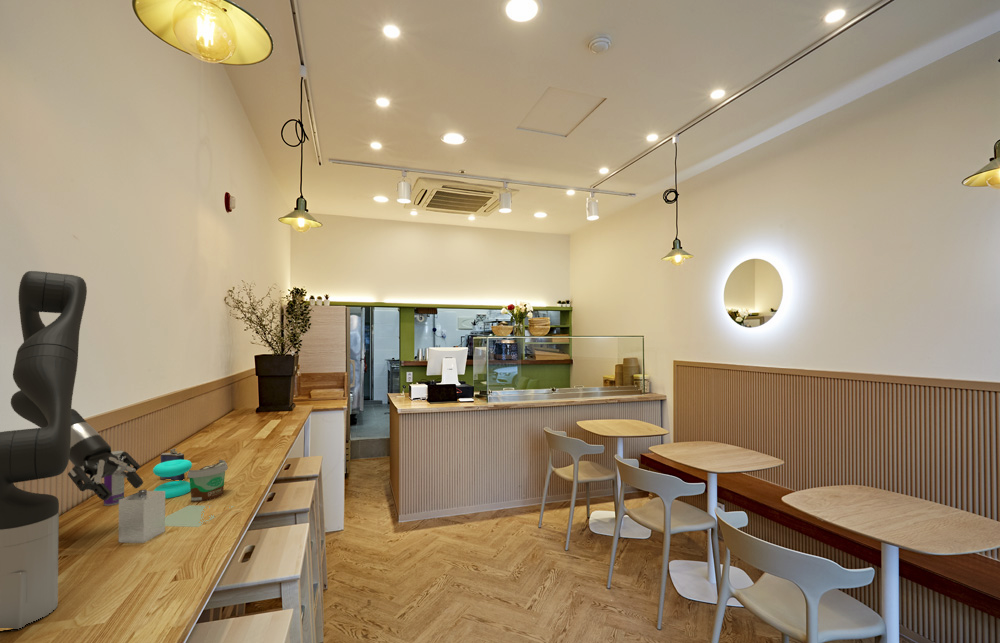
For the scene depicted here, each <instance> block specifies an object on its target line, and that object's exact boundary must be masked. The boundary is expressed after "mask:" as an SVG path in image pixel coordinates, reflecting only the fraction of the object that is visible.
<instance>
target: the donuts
mask: <svg viewBox="0 0 1000 643" xmlns="http://www.w3.org/2000/svg"><path fill="white" fill-rule="evenodd" d="M192 467H193V463H192V462H191V460H188V459H184V460H171V461H166V462H162V463H161V462H159V463H158V464H156V465H155V466H154V467H153V469H152V472H153V474H154V475H156V476H157V477H159V478H160V477H172V476H177V475H181V474H183V473H184V474H185V473H187V472H189V470H192V469H191V468H192ZM153 491H165V500H166V499H173V498H176V497H181V496H184V495H187V494H188V493H191V490H190V481H187V480H183V481H182V480H179V481H172V480H171V481H168V482H167V481H166V482H164V483H161V484H159V485H158V486H156V487H155V488H154V489H153Z"/></svg>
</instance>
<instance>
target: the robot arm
mask: <svg viewBox="0 0 1000 643" xmlns="http://www.w3.org/2000/svg"><path fill="white" fill-rule="evenodd" d="M87 290H88V289H87V283H86V281H85V279H84V278H83V277H81V276H78V275H74V274H68V273H56V272H47V271H38V270H29V271H26V272H25V273H24V274H23V275H22V276H21V280H20V282H19V286H18V308H19V310H18V311H19V317H20V319H19V320H20V325H21V326H20V327H21V332H22V338H23V342H22V343H21V344H20V346H19V348H18V349H17V352H16V356H15V360H14V366H13V370H12V371H13V372H12V379H13V381H14V383H15V385H16V387H18V389H19V390H18V391H16V392H15V393H14V394H12V396H11V398H10V406H11V408H12V410H13V412H15V413H16V414H17V415H18V416H20V417H21V418H23V419H24V420H26V421H28V422H30V423H32V424H34V425H36V426H37V427H34V428H26V429H25V428H24V429H16V430H14V429H13V430H5V431H0V628H13V629H18V630H20V629H19V628H21V629H23V628H24V627H25V625H26V624H28V623H30V624H32V623H34V622H33V621H35V622H36V620H37V621H38V619H39V620H41V619H43V618H45V617H46V616H48V615H50V614H51V613H52V612H54V611H55V610H56V609H57V608H58V606H59V605H58V604H59V528H60V527H59V526H60V522H59V520H60V519H59V517H60V513H59V512H60V508H59V507H60V503H59V498H58V497H57V496H55V495H52V494H47V493H38V492H30V491H28V490H23V489H21V488H19V487H17V486H16V485H15V484H14V483H23V482H29V481H35V480H37V481H38V480H41V479H50V478H53V477H57V476H60V475H62V474H63V473H64V472H65V470H66V469H67V466H68V465H69V461H70V462H71V464H72V465H73V467H72V469H70V470H69V471H68V473H67V475H68V477H69V478H70V479H71V481H72V482H73V483H74V484H75V486H76V487H77V489H78V490H79V491H81V492H85V491H86V490H89V491H92V492H94V494H95V495H97V497H98V498H99V499H100V500H102V501H103V502H104V501H105V500H107V499H109V498H110V497H111V496H112V492H111V491H110V490H109V489H108V488H107V487H106V486H105V485H104V482H102V479H104V477H105V476H110V475H115V476H119V475H120V476H123V477H124V478H126V480H127V481H128V482H129V483H130V485H131V486H132V487H133V488H134V489H138V488H140V487H141V486H142V485H143V484H144V480H143V479H142V478H141V477H140V475H139V474H138V473H137V471H138V470H139V469H140V468H141V465H140V464H139V463H138V462H137V461H136V460H135V459H134V458H133V457H132V456H131V455H130V454H129V453H128V452H127V451H124V452H123V453H122V454H121V455H118V456H115V455H113V454H112V453H111V452H112V447H111V445H110V444H109V443H108V442H107V441H106V440H105V438H103V436H102V435H100V433H99V432H98V431H97V430H96V429H95V428H94V427H93V426H92V425H90V424H89V423H88V422H87V421H86V420H85V419H84V417H83V416H82V415H81V414H80V413H79V412H78V411H77V410H75V409H74V408H72V405H73V404H72V402H73V394H74V388H75V381H76V377H77V376H76V375H77V370H78V362H79V361H78V360H79V343H80V328H81V324H82V321H83V320H82V319H83V315H84V310H85V306H86V301H87V294H88V293H87ZM40 313H53V314H59V316H58V317H57V318H56V319H54V321H52V322H50V323H49V324H48V325H45V324H44V323H43V320H42V318H41V316H40ZM118 466H120V467H121V468H120V469H119V470H117V469H118ZM123 470H124V471H123ZM126 471H127V472H126ZM53 610H54V611H53ZM49 613H50V614H49ZM42 617H43V618H42ZM40 618H41V619H40ZM31 622H32V623H31ZM28 625H29V624H28ZM26 626H27V625H26ZM22 627H23V628H22Z"/></svg>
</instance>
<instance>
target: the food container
mask: <svg viewBox="0 0 1000 643" xmlns="http://www.w3.org/2000/svg"><path fill="white" fill-rule="evenodd" d="M228 468H229V467H228V463H227V461H226V460H223V459H218V463H215V464H212V465H206V466H203V467H201V468H199V469H194V470H193V469H190V470H189V471H188V474H187V478H189V483H190V490H191V491H190V498H191V500H190V501H191V503H196V502H197V503H198V502H206V501H210V500H214V498H215V499H217V498H219V496H220V497H221V496H222V494H224V487H225V478H226V471H227V470H228Z"/></svg>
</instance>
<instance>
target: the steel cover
mask: <svg viewBox="0 0 1000 643" xmlns="http://www.w3.org/2000/svg"><path fill="white" fill-rule="evenodd" d="M165 517H166V499H165V491H154V490H147V489H140V490H138V492H135V493H133V494H130V495H128V496H124V498H123V499H120V500H119V504H118V543H125V544H126V543H131V544H139V543H140V544H144V543H146V542H149V541H150V540H151V539H154V538H156V537H157V536H159V535H161V534H163V533H165V532H166V526H165Z"/></svg>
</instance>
